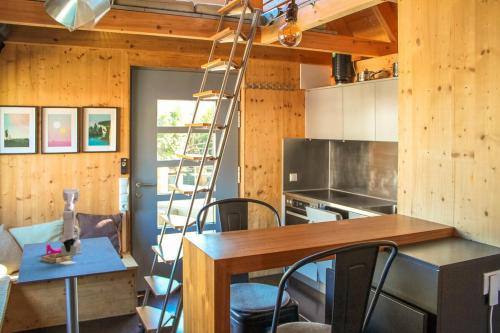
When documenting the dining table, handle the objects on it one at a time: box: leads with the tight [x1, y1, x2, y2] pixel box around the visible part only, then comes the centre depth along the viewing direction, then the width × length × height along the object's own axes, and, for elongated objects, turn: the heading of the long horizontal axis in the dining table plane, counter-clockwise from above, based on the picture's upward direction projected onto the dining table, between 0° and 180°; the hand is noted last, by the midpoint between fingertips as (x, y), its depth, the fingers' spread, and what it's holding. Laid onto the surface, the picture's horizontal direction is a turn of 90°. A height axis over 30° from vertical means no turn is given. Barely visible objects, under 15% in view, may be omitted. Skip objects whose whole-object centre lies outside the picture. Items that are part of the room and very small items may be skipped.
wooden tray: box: [40, 253, 74, 265], centre depth 285 cm, size 13×14×3 cm
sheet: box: [60, 244, 78, 257], centre depth 278 cm, size 1×10×6 cm, turn 78°
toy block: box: [45, 243, 61, 255], centre depth 304 cm, size 15×6×8 cm, turn 121°
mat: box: [59, 260, 77, 266], centre depth 278 cm, size 9×8×1 cm
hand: (69, 251), depth 278 cm, fingers closed on sheet
